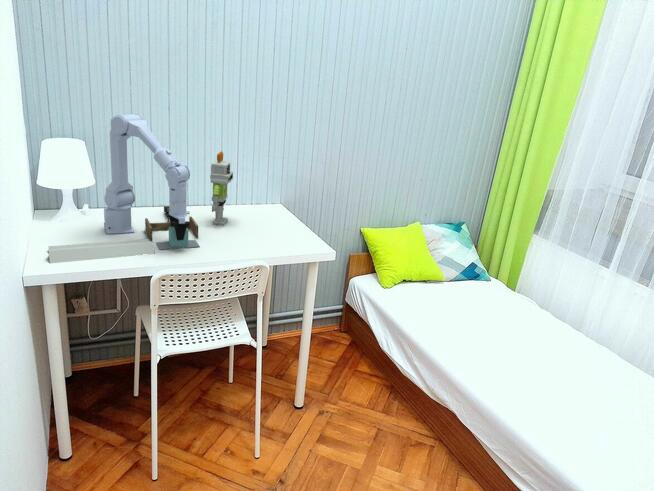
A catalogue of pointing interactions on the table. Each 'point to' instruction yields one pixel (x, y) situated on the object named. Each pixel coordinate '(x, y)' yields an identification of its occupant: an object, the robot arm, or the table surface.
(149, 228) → the frame
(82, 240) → the table surface
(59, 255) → the crown molding
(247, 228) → the table surface
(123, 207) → the robot arm
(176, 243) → the block
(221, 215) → the toy
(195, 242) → the mat
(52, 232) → the table surface
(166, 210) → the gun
